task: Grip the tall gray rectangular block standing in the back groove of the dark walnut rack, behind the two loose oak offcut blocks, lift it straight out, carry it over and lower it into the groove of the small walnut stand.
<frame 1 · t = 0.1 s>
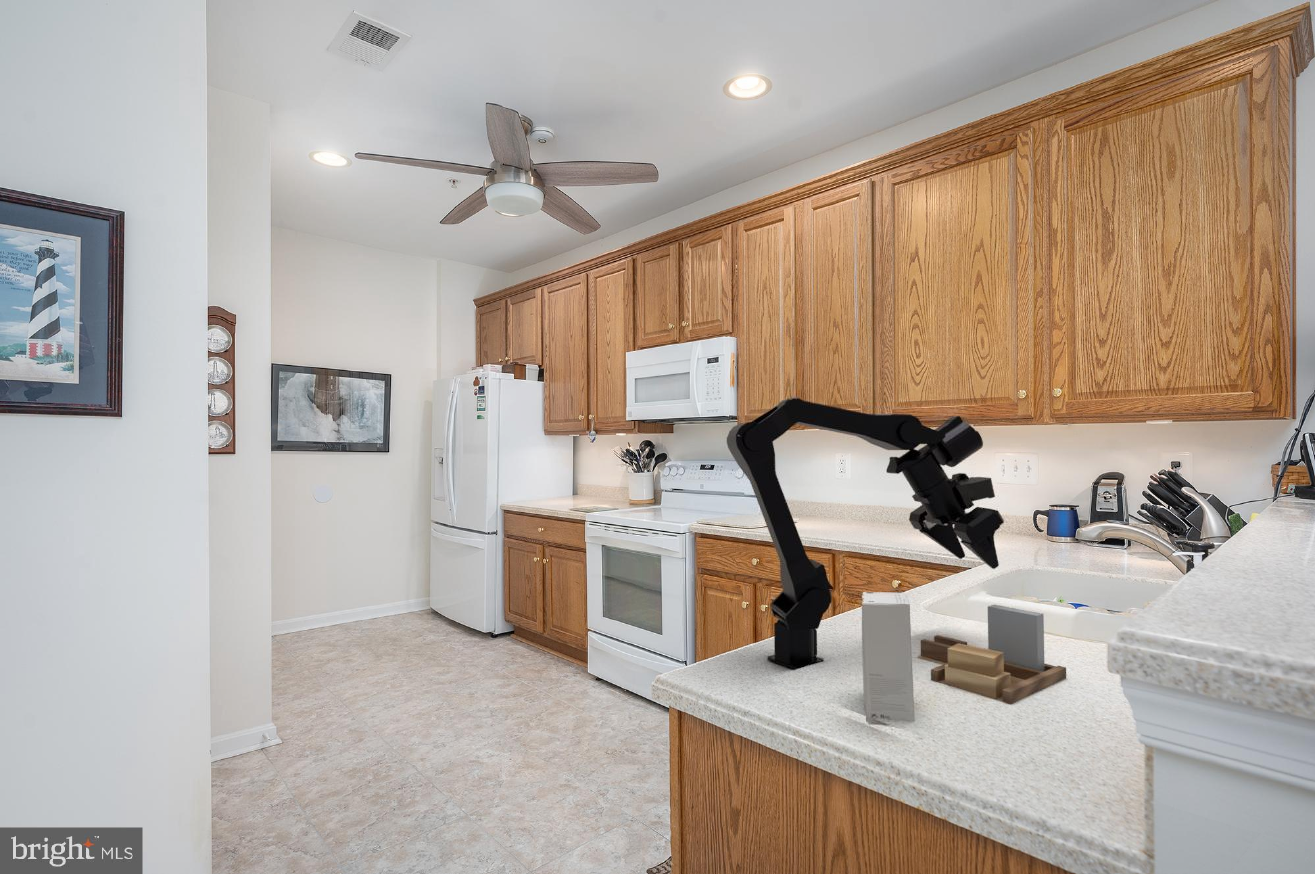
hand: (978, 562, 107), 15 cm above the counter, tool tilted 30°, fingers open, 9 cm apart
offcut a: (977, 687, 89), point 1 cm above the counter, touching offcut b, rack
offcut b: (975, 668, 89), point 3 cm above the counter, touching offcut a
gray rectangular block: (1016, 671, 95), point 1 cm above the counter, touching rack
rack: (998, 685, 92), on the counter
stand: (944, 663, 102), on the counter
skincare box: (887, 715, 83), on the counter
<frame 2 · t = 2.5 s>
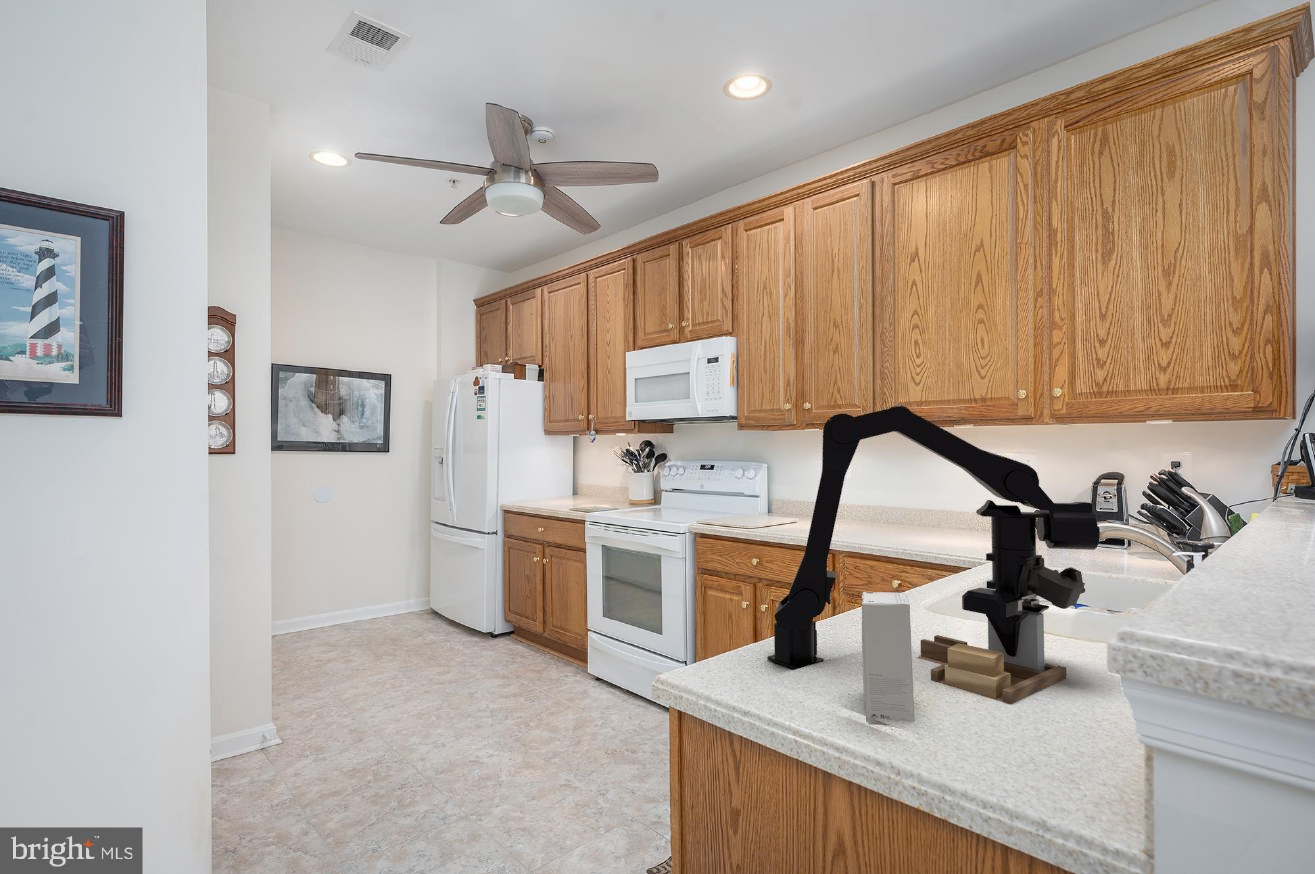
hand: (1015, 654, 95), 4 cm above the counter, tool pointing down, fingers closed on gray rectangular block, 2 cm apart
gray rectangular block: (1016, 671, 95), point 1 cm above the counter, touching gripper, rack
everything else where it was.
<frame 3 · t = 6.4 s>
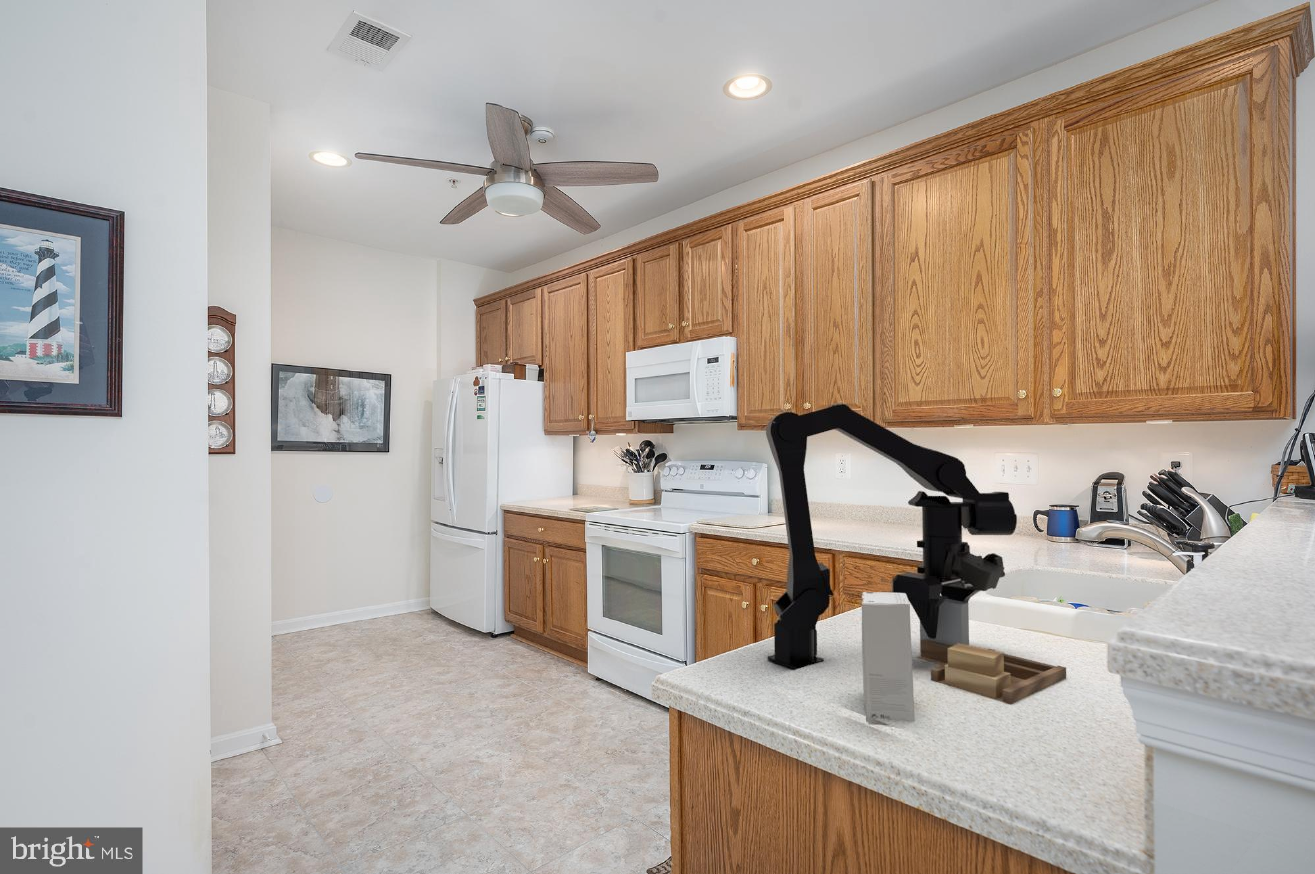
hand: (943, 634, 102), 4 cm above the counter, tool pointing down, fingers open, 6 cm apart
gray rectangular block: (944, 657, 102), point 1 cm above the counter, touching stand
everything else where it was.
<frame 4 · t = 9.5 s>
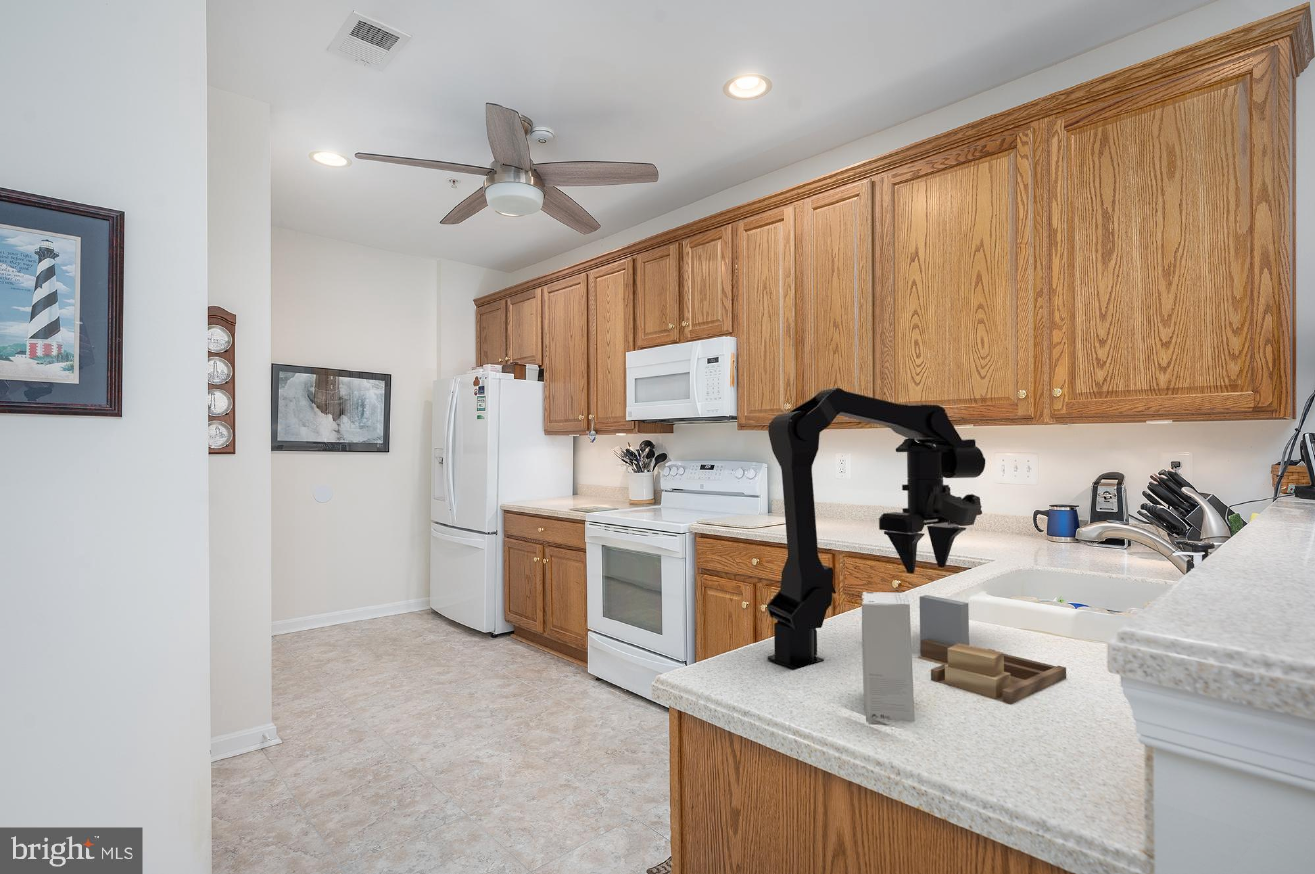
hand: (926, 570, 111), 13 cm above the counter, tool pointing down, fingers open, 9 cm apart
nothing on the counter moved.
at the end: gray rectangular block 0.1 cm off-centre on the stand, point 1.0 cm above the stand's base; gray rectangular block tilted 0°; the gripper is holding nothing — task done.
